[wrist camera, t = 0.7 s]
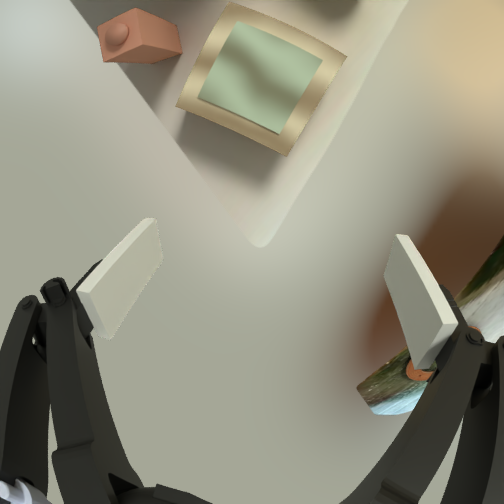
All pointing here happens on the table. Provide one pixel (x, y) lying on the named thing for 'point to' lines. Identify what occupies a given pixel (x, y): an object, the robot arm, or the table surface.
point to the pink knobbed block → (138, 38)
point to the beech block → (259, 77)
